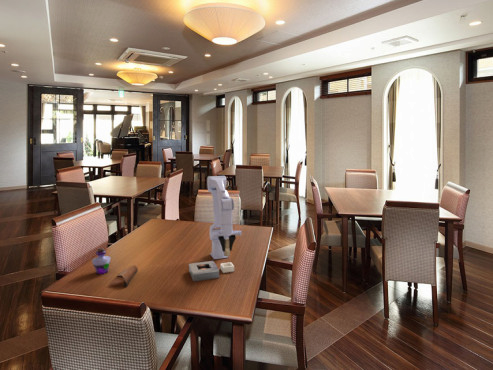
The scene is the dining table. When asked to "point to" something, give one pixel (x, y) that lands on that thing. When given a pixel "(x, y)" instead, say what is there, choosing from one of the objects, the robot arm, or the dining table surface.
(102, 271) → the potion bottle
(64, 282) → the dining table surface
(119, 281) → the sunglasses case
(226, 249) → the tan cylinder
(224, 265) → the holder
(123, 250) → the dining table surface
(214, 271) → the grey square frame block
